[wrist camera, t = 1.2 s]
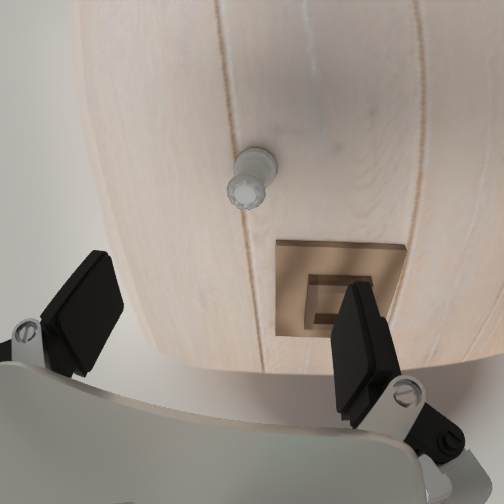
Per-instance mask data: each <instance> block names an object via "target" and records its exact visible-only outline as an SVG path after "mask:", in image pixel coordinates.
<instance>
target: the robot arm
mask: <svg viewBox="0 0 504 504" xmlns="http://www.w3.org/2000/svg"><path fill="white" fill-rule="evenodd" d="M123 308H124V303H123V300H122V296H121V293H120V289H119V286H118V283H117V279H116V275H115V271H114V267H113V263H112V259H111V257H110V256H109V255H108V253H107V252H105V251H99V250H93V251H92V252H91V253H90V254H89V255H88V256H87V257H86V259H85V260H84V261H83V262H82V263H81V265H80V266H79V267H78V268H77V269H76V270H75V272H74V273H73V274H72V275H71V277H70V278H69V279H68V280H67V282H66V283H65V284H64V285H63V286H62V288H61V289H60V290H59V292H58V293H57V294H56V295H55V297H54V298H53V299H52V301H51V302H50V303H49V305H48V306H47V307H46V309H45V310H44V311H43V313H42V314H41V316H40V317H41V319H42V320H41V322H40V323H39V322H38V320H36V319H32V318H30V319H25V320H23V321H21V322H20V323H19V324H17V325H16V327H15V328H14V330H13V333H12V339H10V340H8V341H5V342H3V343H0V504H484V503H485V502H486V501H487V500H488V498H489V496H490V495H491V492H492V482H491V480H490V478H489V476H488V475H487V473H486V472H485V470H484V469H483V468H482V466H481V465H480V463H479V462H478V461H477V459H476V458H475V456H474V455H473V454H472V452H471V451H470V450H467V451H466V450H465V448H464V446H465V437H464V434H463V432H462V430H461V429H460V428H459V427H458V426H457V425H455V424H454V423H453V422H451V421H450V420H448V419H447V418H446V417H445V416H443V415H442V414H440V413H439V412H438V411H436V410H435V409H434V408H432V407H431V406H430V405H428V404H427V403H426V402H425V400H426V392H425V389H424V387H423V385H422V384H421V382H419V381H418V380H417V379H416V378H413V377H411V376H407V375H401V371H400V367H399V363H398V359H397V355H396V352H395V348H394V344H393V341H392V337H391V334H390V330H389V327H388V323H387V321H386V318H384V317H381V316H380V313H379V309H378V306H377V303H376V300H375V296H374V293H373V290H372V287H371V284H370V282H369V281H359V280H354V282H353V284H348V287H347V290H346V292H345V295H344V298H343V301H342V304H341V307H340V310H339V312H338V315H337V318H336V321H335V323H334V326H333V329H332V331H331V348H332V358H333V369H334V380H335V394H336V409H337V412H338V413H341V419H342V420H350V426H352V427H353V428H352V429H348V428H324V427H321V428H320V427H299V426H285V425H271V424H260V423H251V422H243V421H235V420H228V419H221V418H215V417H209V416H203V415H198V414H193V413H188V412H183V411H178V410H173V409H169V408H165V407H161V406H156V405H152V404H149V403H145V402H141V401H138V400H134V399H130V398H127V397H123V396H120V395H117V394H114V393H111V392H108V391H104V390H101V389H98V388H96V387H93V386H90V385H87V384H84V383H82V382H79V381H76V380H73V379H72V375H73V373H75V374H76V375H79V376H82V377H84V378H85V377H86V375H87V373H88V372H90V371H91V370H92V368H93V366H94V364H95V362H96V360H97V358H98V356H99V355H100V353H101V350H102V349H103V347H104V345H105V343H106V341H107V339H108V337H109V336H110V333H111V332H112V330H113V328H114V326H115V324H116V323H117V321H118V319H119V317H120V315H121V314H122V312H123ZM426 489H427V492H428V494H429V500H428V502H427V497H426Z"/></svg>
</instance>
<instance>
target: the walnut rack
mask: <svg viewBox="0 0 504 504" xmlns="http://www.w3.org/2000/svg"><path fill="white" fill-rule="evenodd" d="M406 253H407V249H406V247H405V245H394V244H370V243H345V242H317V241H287V240H276V336H292V337H326V338H331V331H332V329H333V326H334V323H335V321H336V318H337V315H338V312H339V310H340V307H341V304H342V301H343V298H344V295H345V292H346V290H347V287H348V284H353V282H354V280H359V281H369V282H370V284H371V287H372V290H373V293H374V296H375V300H376V303H377V306H378V309H379V313H380V316H381V317H384V318H386V316H387V313H388V310H389V308H390V305H391V302H392V299H393V296H394V293H395V290H396V287H397V283H398V280H399V277H400V274H401V270H402V267H403V264H404V260H405V256H406Z"/></svg>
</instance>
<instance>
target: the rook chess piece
mask: <svg viewBox="0 0 504 504" xmlns="http://www.w3.org/2000/svg"><path fill="white" fill-rule="evenodd" d="M276 173H277V163H276V161H275V159H274V157H273V156H272V155H271V154H270V153H269V152H268V151H266V150H263V149H260V148H249V149H247V150H245V151H243V152H242V153H241V154H240V155H239V156H238V157H237V159H236V162H235V165H234V177H233V178H232V179H231V180H230V181H229V184H228V187H227V195H228V197H229V199H230V201H231V203H232V204H234V205H236V206H237V208H238V209H241V210H243V209H248V210H250V209H253V208H255V207H258V206H259V205H260V204H261V203H262V202H263V200H264V198H265V195H266V194H265V188H267V187H268V186H269V185H270V184H271V183H272V182H273V180H274V178H275V176H276Z"/></svg>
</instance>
